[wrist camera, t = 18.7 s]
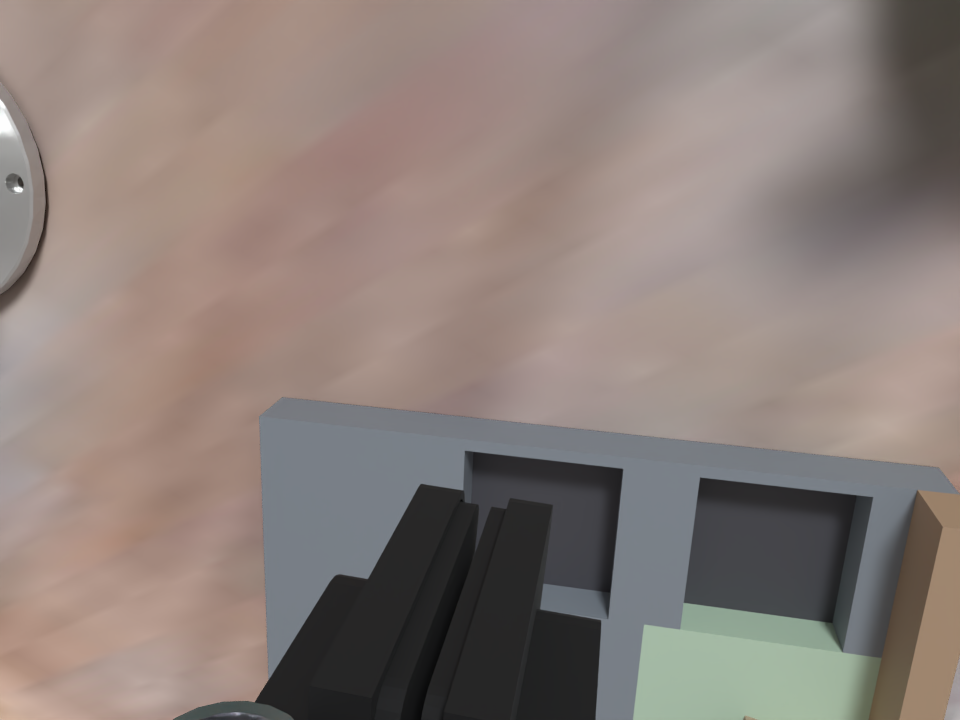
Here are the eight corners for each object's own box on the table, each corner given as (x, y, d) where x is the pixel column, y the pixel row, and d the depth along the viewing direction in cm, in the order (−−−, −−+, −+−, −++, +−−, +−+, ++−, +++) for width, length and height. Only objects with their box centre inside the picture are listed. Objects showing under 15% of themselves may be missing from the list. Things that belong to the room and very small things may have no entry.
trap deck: (290, 692, 44) (243, 771, 39) (282, 397, 39) (227, 442, 34) (868, 787, 40) (901, 890, 35) (938, 467, 35) (989, 532, 30)
